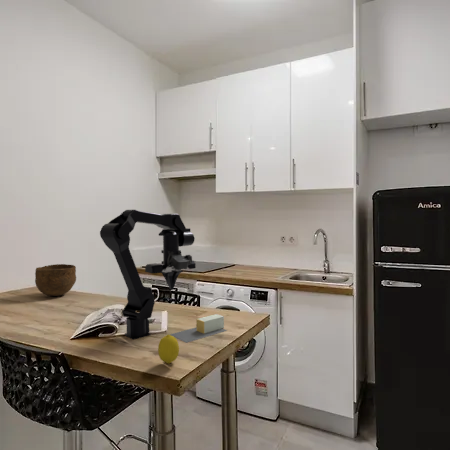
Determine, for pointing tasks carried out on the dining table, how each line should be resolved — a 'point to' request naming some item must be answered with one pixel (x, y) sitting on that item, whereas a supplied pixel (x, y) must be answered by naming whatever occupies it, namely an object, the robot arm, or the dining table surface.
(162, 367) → the dining table surface
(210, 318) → the block
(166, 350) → the lemon
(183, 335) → the mat
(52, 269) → the bowl
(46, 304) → the dining table surface
